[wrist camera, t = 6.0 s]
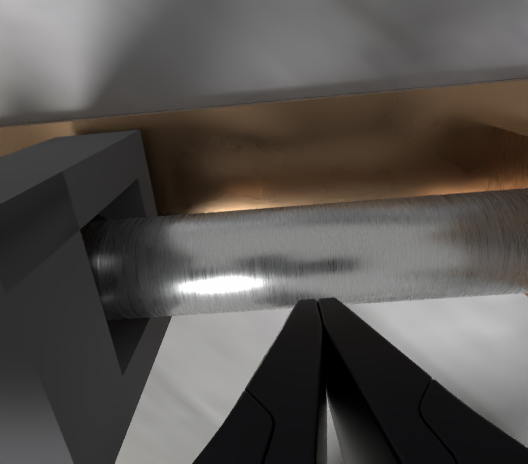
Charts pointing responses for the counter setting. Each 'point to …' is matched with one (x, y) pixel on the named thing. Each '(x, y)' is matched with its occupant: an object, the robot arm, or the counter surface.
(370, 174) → the pipe rig
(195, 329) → the counter surface
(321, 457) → the robot arm
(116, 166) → the collar
